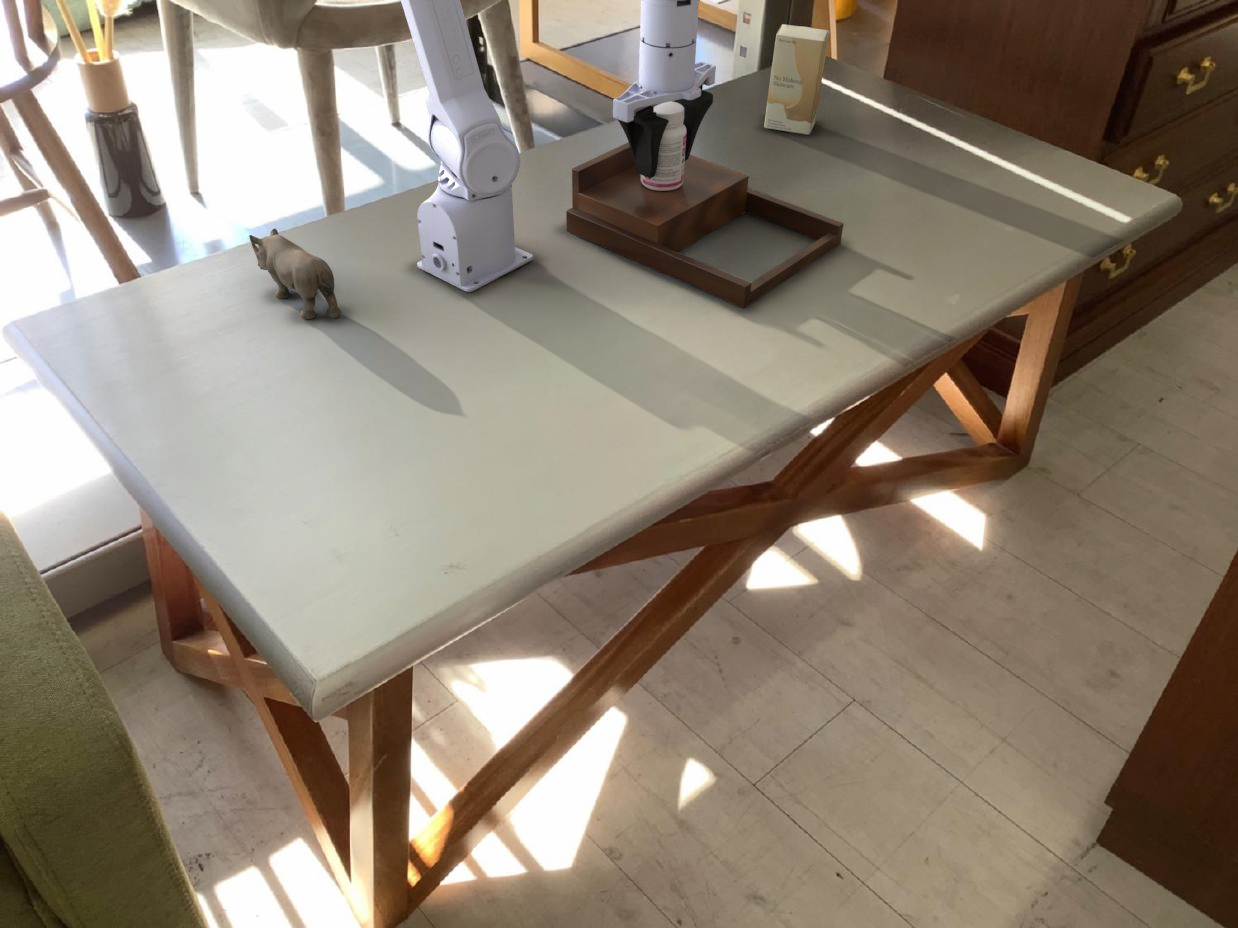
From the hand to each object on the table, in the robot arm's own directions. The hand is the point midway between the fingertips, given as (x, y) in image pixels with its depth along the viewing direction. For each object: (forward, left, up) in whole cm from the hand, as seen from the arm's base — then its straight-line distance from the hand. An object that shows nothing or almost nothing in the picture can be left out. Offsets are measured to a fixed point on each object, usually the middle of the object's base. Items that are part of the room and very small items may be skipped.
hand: (662, 166), depth 120 cm
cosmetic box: (+32, +4, -7) cm, 33 cm away
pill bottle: (0, 0, -2) cm, 2 cm away
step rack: (0, -6, -6) cm, 9 cm away
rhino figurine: (-37, +17, -7) cm, 41 cm away
